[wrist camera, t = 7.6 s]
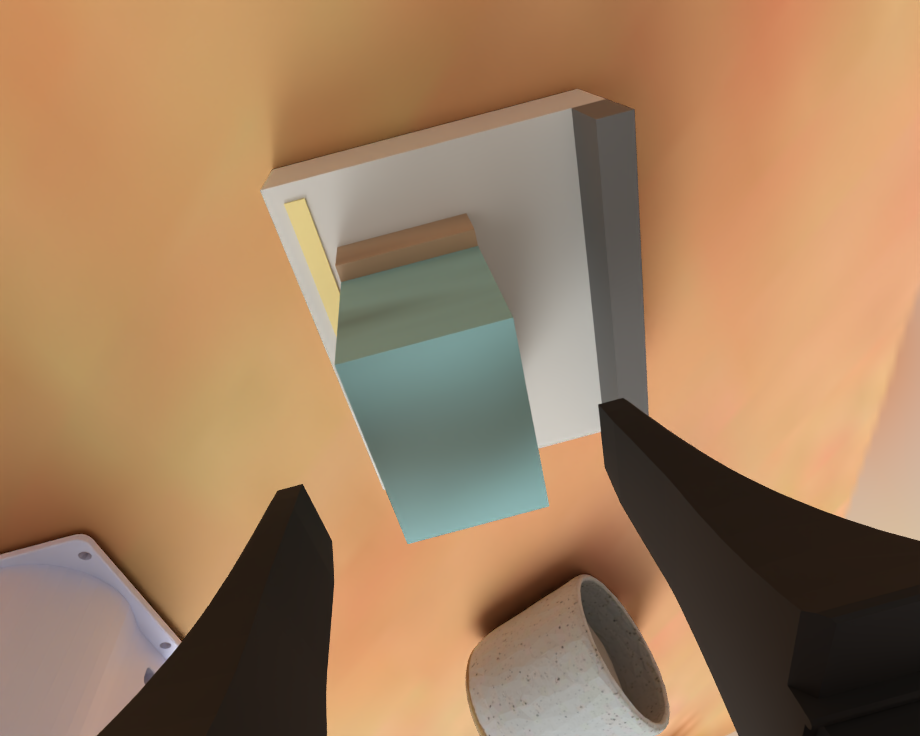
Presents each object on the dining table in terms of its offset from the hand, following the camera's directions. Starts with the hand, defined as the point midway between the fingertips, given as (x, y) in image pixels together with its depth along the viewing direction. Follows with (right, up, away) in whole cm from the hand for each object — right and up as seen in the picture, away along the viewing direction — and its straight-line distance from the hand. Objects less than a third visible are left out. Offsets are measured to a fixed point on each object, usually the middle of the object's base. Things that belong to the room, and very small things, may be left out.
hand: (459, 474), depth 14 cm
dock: (0, +5, +8) cm, 9 cm away
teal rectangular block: (-1, +4, +5) cm, 7 cm away
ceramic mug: (+6, -12, +20) cm, 24 cm away
